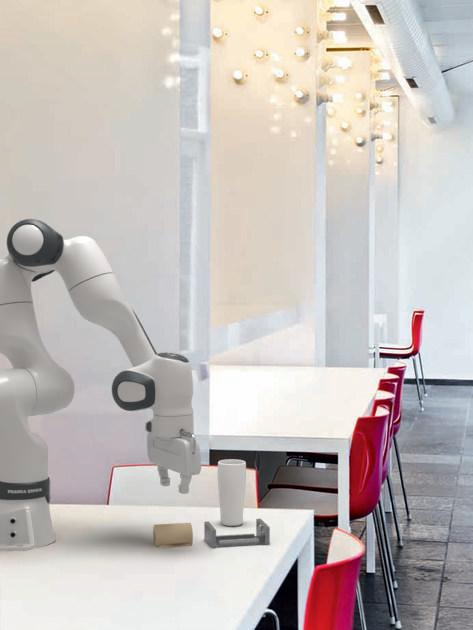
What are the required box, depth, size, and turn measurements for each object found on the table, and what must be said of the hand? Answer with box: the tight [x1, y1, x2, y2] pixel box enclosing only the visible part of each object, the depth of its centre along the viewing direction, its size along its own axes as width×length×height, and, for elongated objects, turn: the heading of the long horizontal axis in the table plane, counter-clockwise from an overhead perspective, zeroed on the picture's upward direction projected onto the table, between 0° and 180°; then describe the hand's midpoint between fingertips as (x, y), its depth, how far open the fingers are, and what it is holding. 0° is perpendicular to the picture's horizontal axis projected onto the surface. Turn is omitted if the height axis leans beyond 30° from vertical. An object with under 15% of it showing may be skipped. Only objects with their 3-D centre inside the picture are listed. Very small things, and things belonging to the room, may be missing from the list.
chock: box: [158, 544, 192, 548], centre depth 245 cm, size 7×5×1 cm
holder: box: [203, 518, 271, 549], centre depth 246 cm, size 13×8×4 cm, turn 103°
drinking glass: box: [217, 459, 247, 527], centre depth 264 cm, size 7×7×15 cm
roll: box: [152, 522, 194, 548], centre depth 245 cm, size 8×5×5 cm, turn 103°
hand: (174, 489), depth 244 cm, fingers open, 8 cm apart
